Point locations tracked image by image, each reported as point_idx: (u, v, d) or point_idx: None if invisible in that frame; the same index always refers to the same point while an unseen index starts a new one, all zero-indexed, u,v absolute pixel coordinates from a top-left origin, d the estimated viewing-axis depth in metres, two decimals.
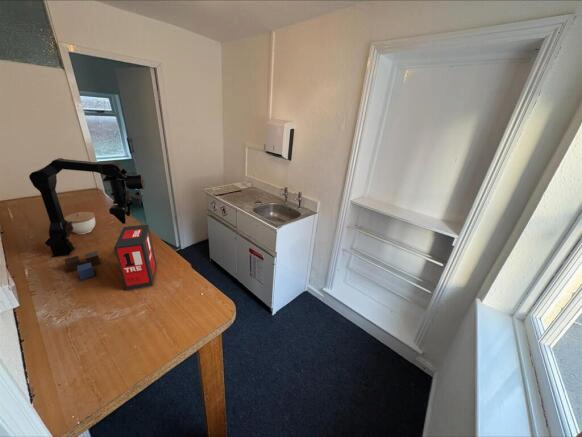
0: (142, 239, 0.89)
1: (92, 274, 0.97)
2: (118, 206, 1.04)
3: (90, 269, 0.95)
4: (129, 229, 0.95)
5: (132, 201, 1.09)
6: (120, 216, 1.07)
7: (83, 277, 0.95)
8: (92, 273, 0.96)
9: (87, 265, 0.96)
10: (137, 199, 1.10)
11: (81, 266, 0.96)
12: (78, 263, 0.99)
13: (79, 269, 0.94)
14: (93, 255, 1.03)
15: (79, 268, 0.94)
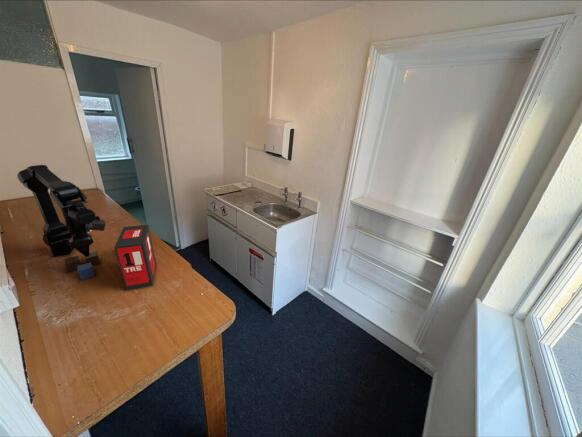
0: (142, 239, 0.89)
1: (92, 274, 0.97)
2: (81, 237, 0.87)
3: (90, 269, 0.95)
4: (129, 229, 0.95)
5: (95, 228, 0.93)
6: (83, 248, 0.90)
7: (83, 277, 0.95)
8: (92, 273, 0.96)
9: (87, 265, 0.96)
10: (101, 225, 0.94)
11: (81, 266, 0.96)
12: (78, 263, 0.99)
13: (79, 269, 0.94)
14: (93, 255, 1.03)
15: (79, 268, 0.94)
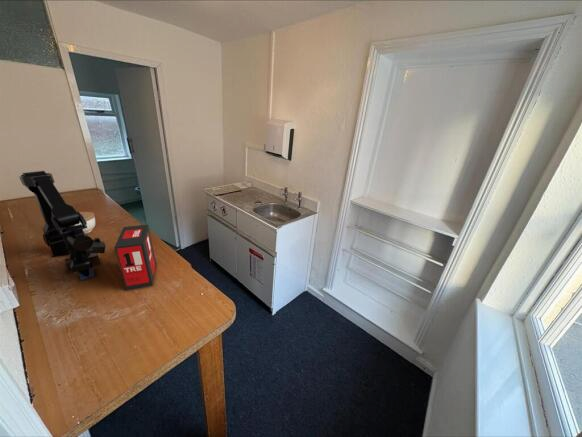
0: (142, 239, 0.89)
1: (92, 274, 0.97)
2: (82, 261, 0.88)
3: (90, 269, 0.96)
4: (129, 229, 0.95)
5: (95, 251, 0.94)
6: None
7: (83, 277, 0.95)
8: (92, 273, 0.96)
9: None
10: (101, 248, 0.95)
11: None
12: None
13: None
14: (93, 255, 1.03)
15: None
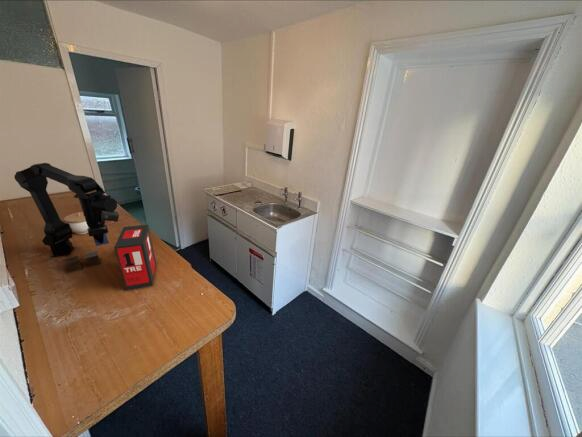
0: (142, 239, 0.89)
1: (106, 241, 1.02)
2: (98, 226, 0.94)
3: (104, 236, 1.01)
4: (129, 229, 0.95)
5: (109, 219, 1.00)
6: (98, 235, 0.98)
7: (98, 243, 1.00)
8: (106, 240, 1.02)
9: None
10: (115, 216, 1.01)
11: None
12: (78, 263, 0.99)
13: None
14: (93, 255, 1.03)
15: None
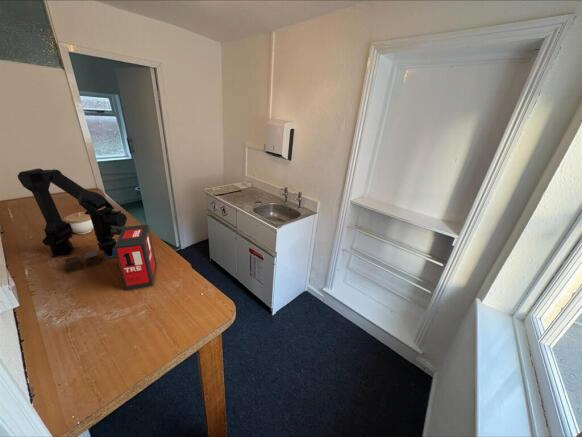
0: (142, 239, 0.89)
1: (115, 254, 1.08)
2: (108, 241, 0.99)
3: (113, 249, 1.07)
4: (129, 229, 0.95)
5: (118, 233, 1.05)
6: (107, 248, 1.04)
7: (107, 256, 1.06)
8: (115, 253, 1.08)
9: None
10: None
11: None
12: (78, 263, 0.99)
13: None
14: (93, 255, 1.03)
15: None
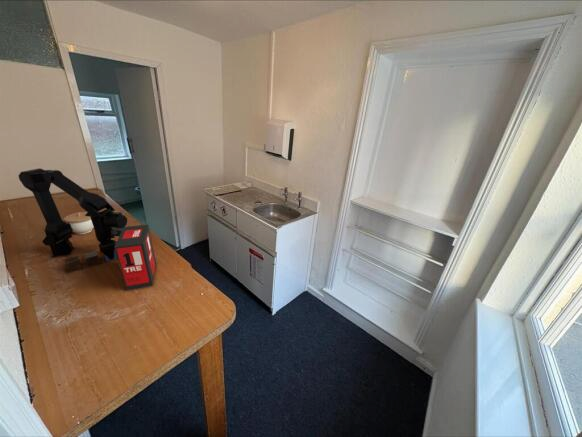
0: (142, 239, 0.89)
1: (116, 257, 1.08)
2: (108, 243, 0.99)
3: (114, 252, 1.07)
4: (129, 229, 0.95)
5: (118, 235, 1.06)
6: (109, 252, 1.03)
7: (108, 259, 1.07)
8: (116, 256, 1.08)
9: None
10: None
11: None
12: (78, 263, 0.99)
13: None
14: (93, 255, 1.03)
15: None
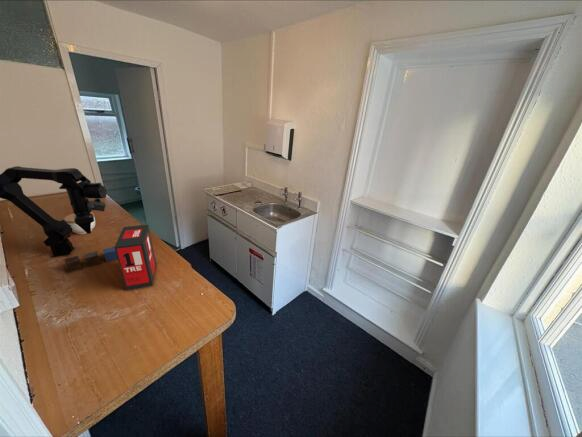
0: (142, 239, 0.89)
1: (116, 257, 1.08)
2: (84, 215, 0.99)
3: (114, 252, 1.07)
4: (129, 229, 0.95)
5: (95, 208, 1.05)
6: (85, 225, 1.02)
7: (108, 259, 1.07)
8: (116, 256, 1.08)
9: (111, 248, 1.08)
10: (101, 206, 1.06)
11: (106, 249, 1.07)
12: (78, 263, 0.99)
13: (105, 252, 1.06)
14: (93, 255, 1.03)
15: (105, 251, 1.06)
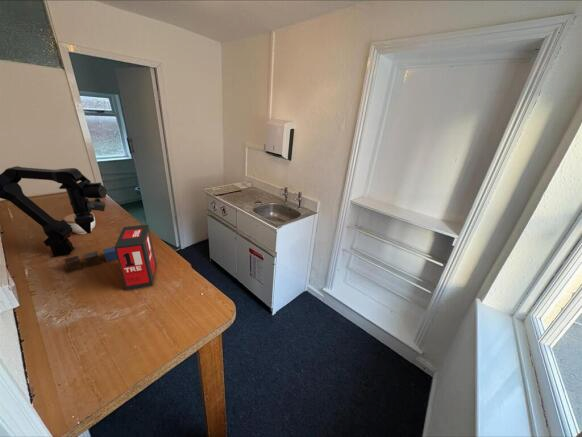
0: (142, 239, 0.89)
1: (116, 257, 1.08)
2: (84, 215, 0.99)
3: (114, 252, 1.07)
4: (129, 229, 0.95)
5: (95, 208, 1.05)
6: (85, 225, 1.02)
7: (108, 259, 1.07)
8: (116, 256, 1.08)
9: (111, 249, 1.08)
10: (101, 206, 1.06)
11: (106, 249, 1.07)
12: (78, 263, 0.99)
13: (105, 252, 1.06)
14: (93, 255, 1.03)
15: (105, 251, 1.06)
